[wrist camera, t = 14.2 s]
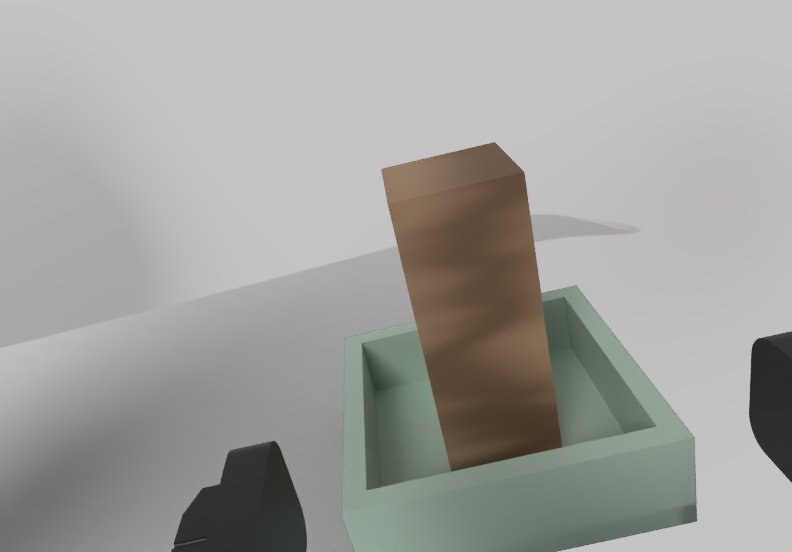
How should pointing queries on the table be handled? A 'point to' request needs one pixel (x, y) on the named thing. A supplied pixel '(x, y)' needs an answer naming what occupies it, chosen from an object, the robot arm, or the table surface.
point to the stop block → (476, 302)
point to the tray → (518, 477)
